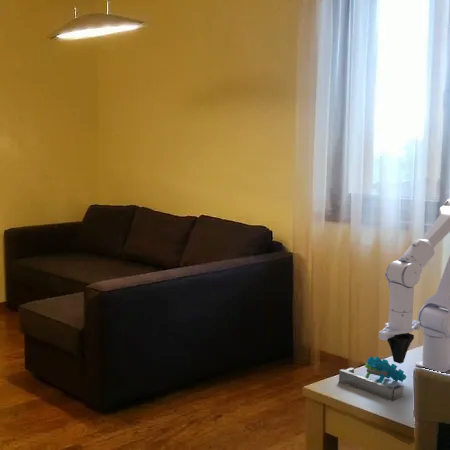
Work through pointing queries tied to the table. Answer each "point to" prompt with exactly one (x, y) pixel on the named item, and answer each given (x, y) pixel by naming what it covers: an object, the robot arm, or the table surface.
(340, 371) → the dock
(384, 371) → the gear
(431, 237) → the robot arm
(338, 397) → the table surface
